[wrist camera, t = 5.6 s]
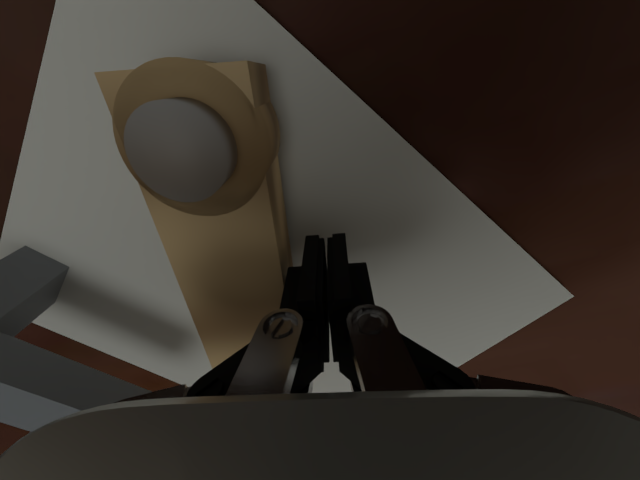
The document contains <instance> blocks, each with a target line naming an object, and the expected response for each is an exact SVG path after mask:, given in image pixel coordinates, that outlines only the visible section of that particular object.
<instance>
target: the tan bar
mask: <svg viewBox="0 0 640 480" xmlns="http://www.w3.org/2000/svg"><path fill="white" fill-rule="evenodd" d="M94 74H95V76H96V79H97V81H98V84H99V86H100V89H101V91H102V94H103V96H104V99H105V101H106V104H107V106H108V109H109V111H110V114H111V116H112V125H113V133H114V137H115V142H116V145H117V148H118V150H119V153H120V155H121V157H122V159H123V161H124V163H125V165H126V166H127V168H128V170H129V171H130V173H131V174H132V175H133V177H134V178H135V179H136V180H137V181H138V184H139V186H140V189H141V191H142V194H143V196H144V199H145V201H146V204H147V206H148V209H149V211H150V214H151V216H152V219H153V221H154V224H155V226H156V229H157V231H158V234H159V236H160V239H161V241H162V244H163V246H164V249H165V251H166V254H167V256H168V259H169V261H170V264H171V266H172V269H173V271H174V274H175V276H176V279H177V281H178V284H179V286H180V289H181V291H182V294H183V296H184V299H185V301H186V304H187V306H188V309H189V311H190V314H191V316H192V319H193V321H194V324H195V326H196V329H197V331H198V334H199V336H200V339H201V341H202V344H203V346H204V349H205V351H206V354H207V356H208V359H209V361H210V364H211V366H212V369H213V368H215V367H216V366H217V365H219V364H220V363H222V362H223V361H224V360H226V359H227V358H229V357H230V356H232V355H233V354H234V353H236V352H237V351H239V350H240V349H242V348H243V347H244V346H246V345H247V344H249V343H250V341H251V339H252V337H253V335H254V333H255V331H256V329H257V327H258V324H259V323H260V321H261V320H262V318H263V317H264V316H265V315H267V314H268V313H270V312H272V311H274V310H277V309H279V308H280V303H281V299H282V294H283V289H284V284H285V280H286V275H287V270H288V267H293V263H292V256H291V248H290V241H289V234H288V226H287V219H286V212H285V204H284V197H283V190H282V182H281V175H280V168H279V160H278V152H279V146H280V128H279V123H278V118H277V115H276V112H275V110H274V108H273V105H272V103H271V101H270V94H269V87H268V80H267V73H266V65H265V64H261V63H257V62H252V61H247V60H246V61H233V62H220V63H217V62H210V61H203V60H196V59H188V58H181V57H164V58H158V59H154V60H151V61H148V62H146V63H144V64H142V65H140V66H138V67H137V68H136V69H130V70H117V71H104V72H94Z"/></svg>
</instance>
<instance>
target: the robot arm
mask: <svg viewBox="0 0 640 480" xmlns="http://www.w3.org/2000/svg"><path fill="white" fill-rule="evenodd" d="M329 324H330V333H331V343H332V353H333V362H339V372H340V373H342V374H343V375H344V376H345V377H346V378H348V379H349V380H350V385H351V391H352V392H329V393H312V390H313V380H314V379H315V378H316V377H317V376H318V375H319V374H320V373H321V372H324V363H329V361H330V349H329ZM0 480H640V417H637V416H635V415H633V414H630V413H628V412H625V411H623V410H620V409H617V408H615V407H612V406H608V405H605V404H602V403H598V402H595V401H591V400H588V399H585V398H580V397H575V396H572V395H570V394H568V393H566V392H565V391H563V390H560V389H556V388H553V387H548V386H543V385H537V384H531V383H525V382H519V381H513V380H507V379H501V378H495V377H489V376H483V375H477V378H473V377H468V375H467V374H465V373H464V372H463V371H461V370H460V369H459V368H457V367H455V366H454V365H452V364H451V363H449V362H447V361H446V360H444V359H442V358H441V357H439V356H437V355H436V354H434V353H432V352H431V351H429V350H427V349H426V348H424V347H422V346H421V345H419V344H418V343H416V342H414V341H413V340H411V339H409V338H408V337H406V336H404V335H403V334H401V333H399V330H398V328H397V326H396V324H395V322H394V320H393V318H392V316H391V315H390V313H389V312H388V311H387V310H385V309H384V308H382V307H380V306H377V305H375V303H374V298H373V293H372V288H371V284H370V279H369V274H368V269H367V264H366V262H362V263H348V255H347V246H346V236H345V233H337V234H332V237H328V238H327V263H326V252H325V242H324V238H319V235H308V236H306V237H305V244H304V251H303V258H302V265H301V266H295V267H288V270H287V275H286V280H285V284H284V289H283V294H282V299H281V303H280V308H279V309H277V310H274V311H272V312H270V313H268V314H267V315H265V316H264V317H263V318H262V320H261V321H260V323H259V324H258V327H257V329H256V331H255V333H254V335H253V337H252V339H251V341H250V343H249V344H247V345H246V346H244V347H243V348H242V349H240V350H239V351H237V352H236V353H234V354H233V355H232V356H230V357H229V358H227V359H226V360H224V361H223V362H222V363H220V364H219V365H217V366H216V367H215V368H213V369H212V370H210V371H209V372H207V373H206V374H205V375H203V376H202V377H200V378H199V379H198V380H197V381H196V382H195V383H194V384H193V385H192V386H190V387H187V385H186V384H183V385H179V386H175V387H171V388H167V389H162V390H158V391H154V392H150V393H146V394H142V395H138V396H134V397H130V398H126V399H123V400H120V401H117V402H115V403H112V404H107V405H101V406H97V407H93V408H90V409H86V410H82V411H79V412H76V413H73V414H71V415H68V416H65V417H63V418H60V419H57V420H55V421H52V422H50V423H48V424H46V425H44V426H42V427H40V428H38V429H36V430H34V431H32V432H30V433H29V434H27V435H26V436H24V437H23V438H21V439H20V440H18V441H17V442H16V443H14V444H13V445H12V446H11V447H10V448H8V449H7V450H6V451H5V452H4V453H3V454H1V455H0Z"/></svg>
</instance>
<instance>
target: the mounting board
mask: <svg viewBox="0 0 640 480" xmlns="http://www.w3.org/2000/svg"><path fill="white" fill-rule="evenodd" d="M164 57H181V58H188V59H196V60H203V61H210V62H217V63H220V62H233V61H246V60H247V61H252V62H257V63H261V64H265V65H266V73H267V80H268V87H269V94H270V101H271V103H272V105H273V108H274V110H275V112H276V115H277V118H278V123H279V128H280V146H279V152H278V160H279V168H280V175H281V182H282V190H283V197H284V204H285V212H286V219H287V226H288V234H289V241H290V248H291V256H292V263H293V267H295V266H301V265H302V258H303V251H304V244H305V237H306V236H308V235H319V238H324V242H325V252H326V263H327V238H328V237H332V234H337V233H345V236H346V246H347V255H348V263H362V262H366V264H367V269H368V274H369V279H370V284H371V288H372V293H373V298H374V303H375V305H377V306H380V307H382V308H384V309H385V310H387V311H388V312H389V313H390V315H391V316H392V318H393V320H394V322H395V324H396V326H397V328H398V330H399V333H401V334H403V335H404V336H406V337H408V338H409V339H411V340H413V341H414V342H416V343H418V344H419V345H421V346H422V347H424V348H426V349H427V350H429V351H431V352H432V353H434V354H436V355H437V356H439V357H441V358H442V359H444V360H446V361H447V362H449V363H451V364H452V365H454V366H455V367H459V366H460V365H462V364H463V363H465V362H467V361H468V360H470V359H472V358H473V357H475V356H477V355H478V354H480V353H482V352H483V351H485V350H487V349H488V348H490V347H491V346H493V345H495V344H496V343H498V342H500V341H501V340H503V339H505V338H506V337H508V336H510V335H511V334H513V333H515V332H516V331H518V330H519V329H521V328H523V327H524V326H526V325H528V324H529V323H531V322H533V321H534V320H536V319H538V318H539V317H541V316H543V315H544V314H546V313H548V312H549V311H551V310H552V309H554V308H556V307H557V306H559V305H561V304H562V303H564V302H566V301H567V300H569V299H571V298H572V297H574V296H573V295H572V294H571V293H570V292H569V291H568V290H567V289H566V288H564V287H563V286H562V285H561V284H560V283H559V282H558V281H557V280H556V279H555V278H554V277H553V276H551V275H550V274H549V273H548V272H547V271H546V270H545V269H544V268H543V267H542V266H541V265H540V264H538V263H537V262H536V261H535V260H534V259H533V258H532V257H531V256H530V255H529V254H528V253H527V252H526V251H524V250H523V249H522V248H521V247H520V246H519V245H518V244H517V243H516V242H515V241H514V240H513V239H511V238H510V237H509V236H508V235H507V234H506V233H505V232H504V231H503V230H502V229H501V228H500V227H498V226H497V225H496V224H495V223H494V222H493V221H492V220H491V219H490V218H489V217H488V216H487V215H486V214H484V213H483V212H482V211H481V210H480V209H479V208H478V207H477V206H476V205H475V204H474V203H473V202H471V201H470V200H469V199H468V198H467V197H466V196H465V195H464V194H463V193H462V192H461V191H460V190H458V189H457V188H456V187H455V186H454V185H453V184H452V183H451V182H450V181H449V180H448V179H447V178H446V177H444V176H443V175H442V174H441V173H440V172H439V171H438V170H437V169H436V168H435V167H434V166H433V165H431V164H430V163H429V162H428V161H427V160H426V159H425V158H424V157H423V156H422V155H421V154H420V153H418V152H417V151H416V150H415V149H414V148H413V147H412V146H411V145H410V144H409V143H408V142H407V141H406V140H404V139H403V138H402V137H401V136H400V135H399V134H398V133H397V132H396V131H395V130H394V129H393V128H391V127H390V126H389V125H388V124H387V123H386V122H385V121H384V120H383V119H382V118H381V117H380V116H378V115H377V114H376V113H375V112H374V111H373V110H372V109H371V108H370V107H369V106H368V105H367V104H365V103H364V102H363V101H362V100H361V99H360V98H359V97H358V96H357V95H356V94H355V93H354V92H353V91H351V90H350V89H349V88H348V87H347V86H346V85H345V84H344V83H343V82H342V81H341V80H340V79H338V78H337V77H336V76H335V75H334V74H333V73H332V72H331V71H330V70H329V69H328V68H327V67H325V66H324V65H323V64H322V63H321V62H320V61H319V60H318V59H317V58H316V57H315V56H314V55H313V54H311V53H310V52H309V51H308V50H307V49H306V48H305V47H304V46H303V45H302V44H301V43H300V42H298V41H297V40H296V39H295V38H294V37H293V36H292V35H291V34H290V33H289V32H288V31H287V30H285V29H284V28H283V27H282V26H281V25H280V24H279V23H278V22H277V21H276V20H275V19H274V18H273V17H271V16H270V15H269V14H268V13H267V12H266V11H265V10H264V9H263V8H262V7H261V6H260V5H258V4H257V3H256V2H255V1H254V0H56V3H55V8H54V12H53V16H52V21H51V25H50V29H49V33H48V38H47V42H46V46H45V51H44V55H43V59H42V64H41V68H40V72H39V76H38V81H37V85H36V89H35V94H34V98H33V102H32V107H31V111H30V115H29V120H28V124H27V128H26V132H25V137H24V141H23V145H22V150H21V154H20V158H19V163H18V167H17V171H16V176H15V180H14V184H13V188H12V193H11V197H10V201H9V206H8V210H7V214H6V219H5V223H4V227H3V232H2V236H1V240H0V422H2V423H5V424H8V425H11V426H15V427H18V428H21V429H24V430H27V431H31V432H32V431H34V430H36V429H38V428H40V427H42V426H44V425H46V424H48V423H50V422H52V421H55V420H57V419H60V418H63V417H65V416H68V415H71V414H73V413H76V412H79V411H82V410H86V409H90V408H93V407H97V406H101V405H107V404H112V403H115V402H117V401H120V400H123V399H126V398H130V397H134V396H138V395H142V394H146V393H150V392H151V391H149V390H146V389H144V388H141V387H139V386H136V385H134V384H131V383H128V382H126V381H123V380H121V379H118V378H116V377H113V376H111V375H108V374H106V373H103V372H101V371H98V370H96V369H93V368H90V367H88V366H85V365H83V364H80V363H78V362H75V361H73V360H70V359H68V358H65V357H63V356H60V355H57V354H55V353H52V352H50V351H47V350H45V349H42V348H40V347H37V346H35V345H32V344H30V343H27V342H25V341H22V340H19V339H17V338H14V336H15V335H17V334H18V333H19V332H20V331H21V330H23V329H24V328H25V327H26V326H27V325H29V324H30V323H31V322H33V323H35V324H37V325H40V326H42V327H45V328H47V329H49V330H52V331H54V332H57V333H59V334H61V335H64V336H66V337H69V338H71V339H73V340H76V341H78V342H81V343H83V344H85V345H88V346H90V347H93V348H95V349H97V350H100V351H102V352H105V353H107V354H109V355H112V356H114V357H117V358H119V359H122V360H124V361H126V362H129V363H131V364H134V365H136V366H138V367H141V368H143V369H146V370H148V371H150V372H153V373H155V374H158V375H160V376H162V377H165V378H167V379H170V380H172V381H174V382H177V383H179V384H182V385H183V384H186V385H187V387H190V386H192V385H193V384H194V383H195V382H196V381H197V380H198V379H199V378H200V377H202V376H203V375H205V374H206V373H207V372H209V371H210V370H212V366H211V364H210V361H209V359H208V356H207V354H206V351H205V349H204V346H203V344H202V341H201V339H200V336H199V334H198V331H197V329H196V326H195V324H194V321H193V319H192V316H191V314H190V311H189V309H188V306H187V304H186V301H185V299H184V296H183V294H182V291H181V289H180V286H179V284H178V281H177V279H176V276H175V274H174V271H173V269H172V266H171V264H170V261H169V259H168V256H167V254H166V251H165V249H164V246H163V244H162V241H161V239H160V236H159V234H158V231H157V229H156V226H155V224H154V221H153V219H152V216H151V214H150V211H149V209H148V206H147V204H146V201H145V199H144V196H143V194H142V191H141V189H140V186H139V184H138V181H137V180H136V179H135V178H134V177H133V175H132V174H131V173H130V171H129V170H128V168H127V166H126V165H125V163H124V161H123V159H122V157H121V155H120V153H119V150H118V148H117V145H116V142H115V137H114V133H113V125H112V116H111V114H110V111H109V109H108V106H107V104H106V101H105V99H104V96H103V94H102V91H101V89H100V86H99V84H98V81H97V79H96V76H95V74H94V72H104V71H117V70H130V69H136V68H137V67H138V66H140V65H142V64H144V63H146V62H148V61H151V60H154V59H158V58H164ZM329 349H330V361H329V363H324V372H321V373H320V374H319V375H318V376H317V377H316V378H315V379H314V380H313V390H312V393H329V392H352V391H351V385H350V380H349V379H348V378H346V377H345V376H344V375H343V374H342V373H340V372H339V362H333V353H332V343H331V333H330V324H329Z"/></svg>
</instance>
